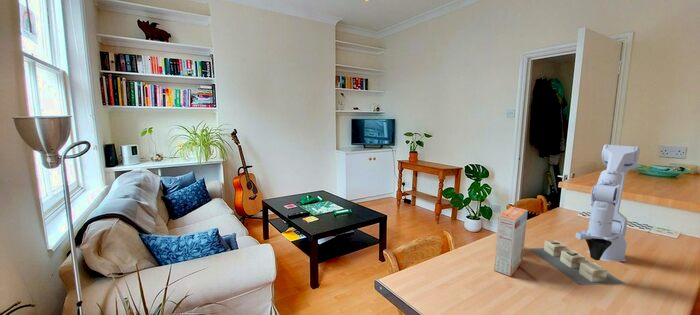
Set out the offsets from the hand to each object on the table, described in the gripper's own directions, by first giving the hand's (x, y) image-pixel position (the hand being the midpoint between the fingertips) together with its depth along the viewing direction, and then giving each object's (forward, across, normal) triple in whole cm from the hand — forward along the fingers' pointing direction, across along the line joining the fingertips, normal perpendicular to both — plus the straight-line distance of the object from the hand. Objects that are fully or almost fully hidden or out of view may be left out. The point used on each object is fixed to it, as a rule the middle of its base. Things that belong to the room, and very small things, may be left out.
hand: (594, 258), depth 98 cm
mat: (+7, 0, +8) cm, 11 cm away
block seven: (+7, 0, +8) cm, 11 cm away
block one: (+7, 0, +17) cm, 18 cm away
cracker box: (+8, -24, +9) cm, 27 cm away
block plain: (+7, 0, 0) cm, 7 cm away
